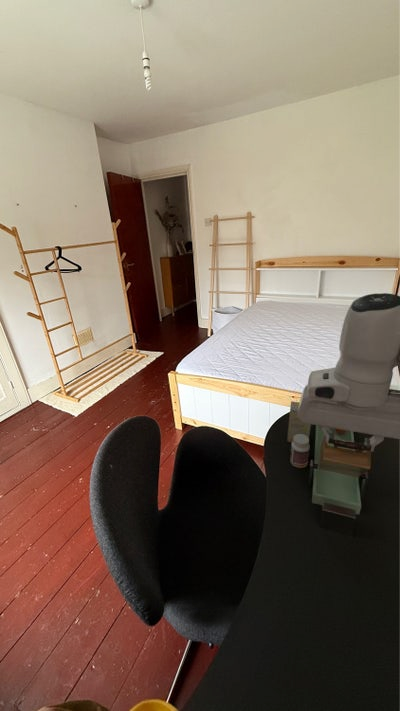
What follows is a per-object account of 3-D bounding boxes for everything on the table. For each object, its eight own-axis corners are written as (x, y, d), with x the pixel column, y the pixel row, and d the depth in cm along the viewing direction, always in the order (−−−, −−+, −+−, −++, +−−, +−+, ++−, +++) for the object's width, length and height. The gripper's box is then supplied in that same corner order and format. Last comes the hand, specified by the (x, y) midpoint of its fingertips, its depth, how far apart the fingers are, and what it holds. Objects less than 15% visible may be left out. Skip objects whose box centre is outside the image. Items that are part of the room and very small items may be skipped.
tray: (359, 514, 68) (361, 506, 67) (311, 502, 71) (313, 494, 70) (350, 426, 94) (351, 419, 93) (316, 420, 98) (317, 413, 97)
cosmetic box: (287, 442, 90) (289, 409, 85) (288, 432, 94) (290, 400, 89) (309, 445, 88) (312, 412, 83) (309, 436, 92) (312, 403, 87)
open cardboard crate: (374, 466, 55) (374, 437, 57) (324, 456, 58) (326, 429, 60) (357, 477, 70) (358, 453, 72) (318, 468, 73) (320, 446, 75)
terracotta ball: (340, 434, 88) (339, 438, 91) (349, 429, 89) (348, 433, 91) (333, 425, 90) (332, 429, 93) (342, 420, 91) (340, 424, 93)
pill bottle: (311, 464, 82) (314, 441, 78) (297, 470, 80) (299, 447, 77) (300, 453, 86) (302, 430, 82) (286, 458, 84) (288, 435, 81)
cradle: (367, 540, 62) (374, 518, 59) (305, 523, 67) (308, 501, 64) (362, 493, 73) (367, 471, 70) (308, 480, 77) (310, 459, 74)
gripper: (424, 384, 52) (405, 445, 58) (302, 370, 59) (296, 426, 65) (435, 404, 47) (413, 468, 53) (300, 386, 54) (294, 445, 60)
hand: (348, 445), depth 59 cm, fingers closed on open cardboard crate, 6 cm apart
